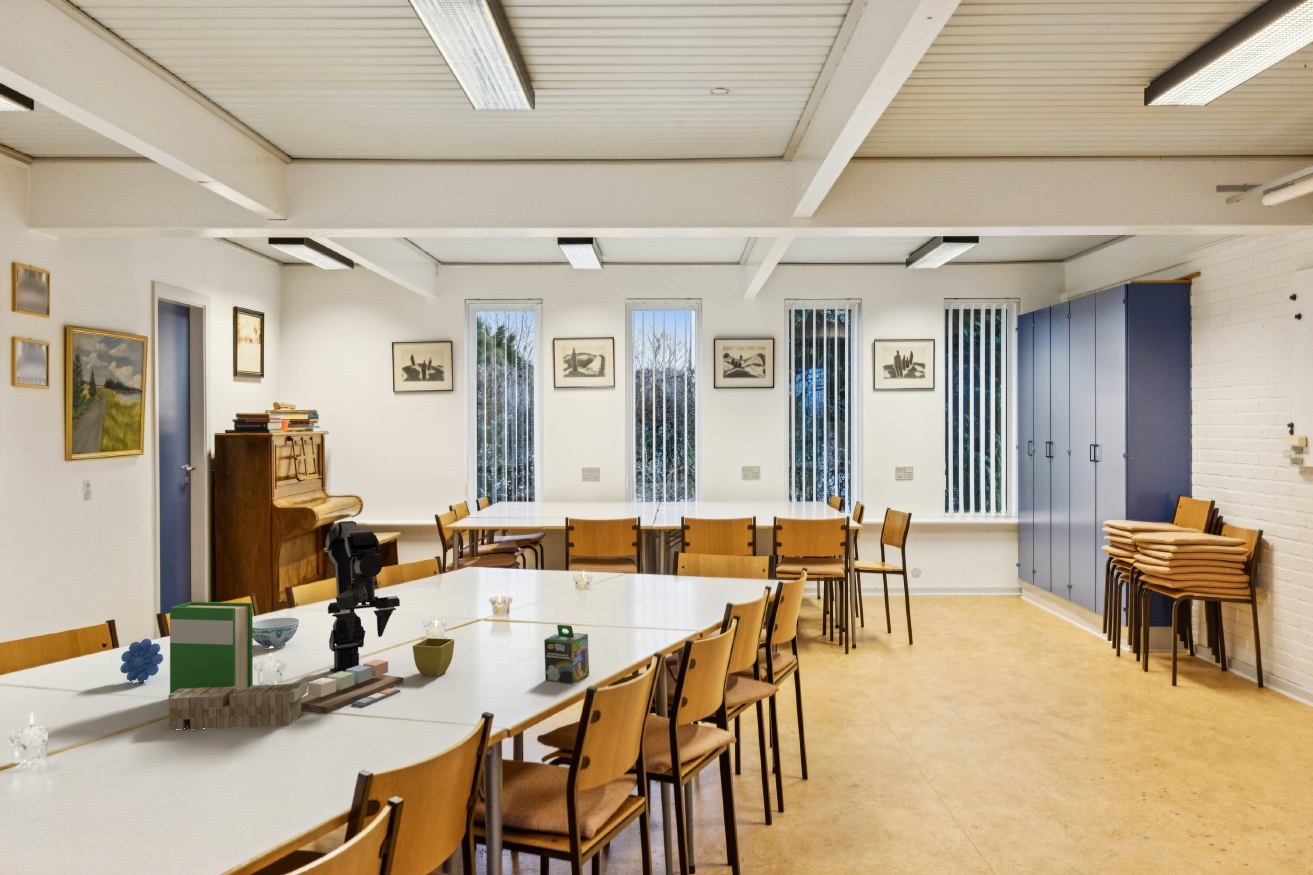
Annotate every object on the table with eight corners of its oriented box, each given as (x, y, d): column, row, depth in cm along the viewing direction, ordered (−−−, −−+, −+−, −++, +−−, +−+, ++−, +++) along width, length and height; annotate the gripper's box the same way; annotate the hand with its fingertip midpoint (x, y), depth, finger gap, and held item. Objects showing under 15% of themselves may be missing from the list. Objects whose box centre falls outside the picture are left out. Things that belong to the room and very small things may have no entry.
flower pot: (440, 679, 212) (440, 646, 212) (411, 677, 214) (411, 645, 214) (455, 670, 221) (455, 638, 221) (427, 668, 223) (427, 637, 223)
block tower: (163, 735, 175) (295, 726, 178) (161, 698, 175) (294, 689, 178) (181, 723, 183) (308, 714, 186) (179, 687, 183) (306, 679, 186)
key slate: (345, 681, 201) (345, 669, 201) (358, 676, 206) (358, 665, 206) (358, 682, 200) (358, 671, 200) (371, 678, 204) (371, 666, 204)
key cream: (308, 694, 190) (308, 682, 191) (322, 689, 195) (322, 677, 195) (321, 696, 189) (321, 684, 189) (335, 691, 193) (335, 679, 193)
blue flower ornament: (172, 677, 217) (172, 634, 217) (156, 684, 210) (156, 640, 210) (131, 677, 217) (131, 635, 217) (114, 684, 210) (114, 641, 211)
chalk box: (589, 675, 215) (589, 622, 215) (572, 684, 206) (572, 629, 207) (561, 671, 218) (561, 619, 219) (543, 680, 210) (543, 626, 210)
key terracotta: (363, 674, 207) (363, 663, 207) (375, 670, 211) (375, 659, 211) (375, 676, 205) (375, 665, 205) (388, 672, 209) (388, 661, 209)
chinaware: (308, 644, 253) (308, 620, 253) (264, 654, 240) (264, 629, 240) (282, 638, 261) (282, 615, 261) (238, 648, 248) (238, 624, 248)
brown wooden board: (291, 707, 190) (291, 700, 190) (370, 678, 214) (370, 672, 214) (327, 713, 185) (327, 707, 185) (403, 682, 209) (403, 677, 209)
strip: (351, 705, 191) (351, 702, 191) (389, 690, 203) (389, 687, 203) (362, 707, 189) (362, 703, 189) (400, 692, 201) (400, 688, 201)
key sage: (327, 687, 196) (327, 675, 196) (341, 682, 200) (341, 671, 200) (340, 689, 194) (340, 677, 194) (354, 684, 198) (354, 672, 198)
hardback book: (252, 695, 200) (252, 602, 201) (232, 704, 193) (232, 608, 193) (191, 692, 203) (191, 601, 203) (170, 701, 195) (169, 607, 196)
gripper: (312, 583, 201) (314, 644, 198) (373, 576, 196) (376, 639, 193) (340, 581, 211) (343, 639, 209) (399, 574, 206) (402, 633, 204)
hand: (365, 637), depth 203 cm, fingers open, 9 cm apart
